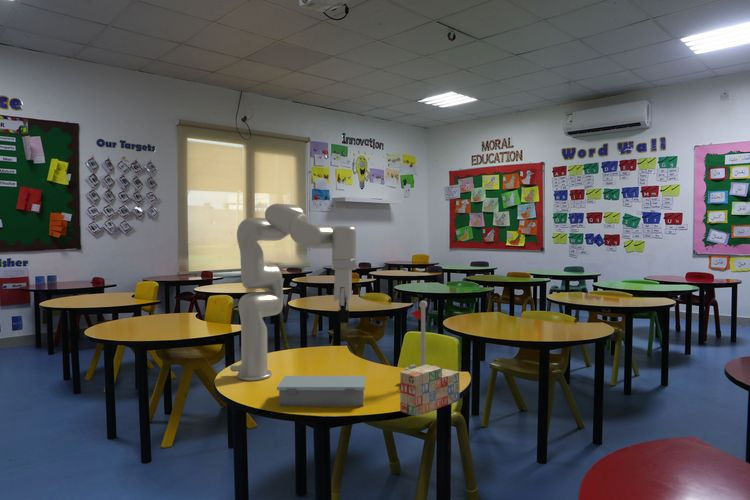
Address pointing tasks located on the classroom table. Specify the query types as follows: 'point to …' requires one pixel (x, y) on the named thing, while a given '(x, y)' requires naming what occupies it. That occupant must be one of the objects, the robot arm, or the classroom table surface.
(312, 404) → the grey open box
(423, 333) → the flag stand
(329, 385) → the grey flat panel
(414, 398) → the stack of blocks
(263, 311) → the robot arm
